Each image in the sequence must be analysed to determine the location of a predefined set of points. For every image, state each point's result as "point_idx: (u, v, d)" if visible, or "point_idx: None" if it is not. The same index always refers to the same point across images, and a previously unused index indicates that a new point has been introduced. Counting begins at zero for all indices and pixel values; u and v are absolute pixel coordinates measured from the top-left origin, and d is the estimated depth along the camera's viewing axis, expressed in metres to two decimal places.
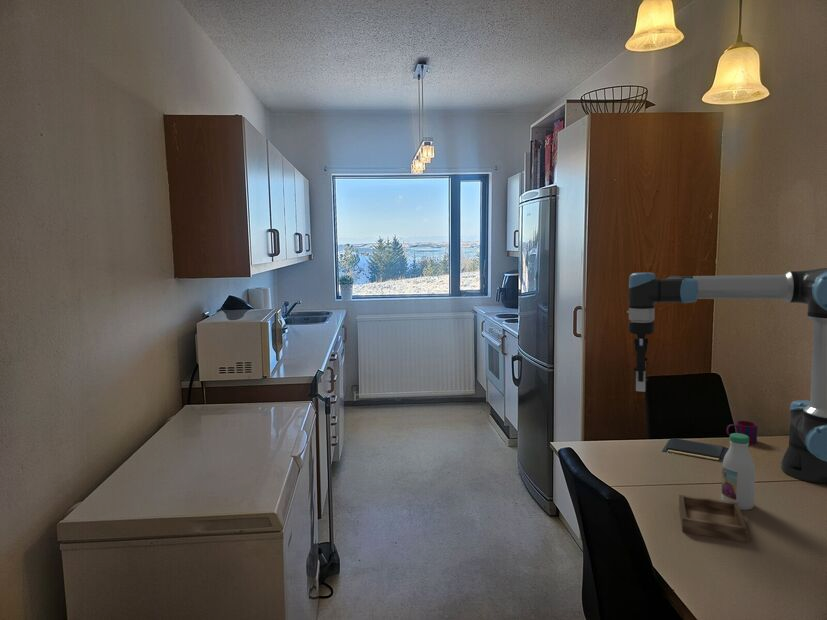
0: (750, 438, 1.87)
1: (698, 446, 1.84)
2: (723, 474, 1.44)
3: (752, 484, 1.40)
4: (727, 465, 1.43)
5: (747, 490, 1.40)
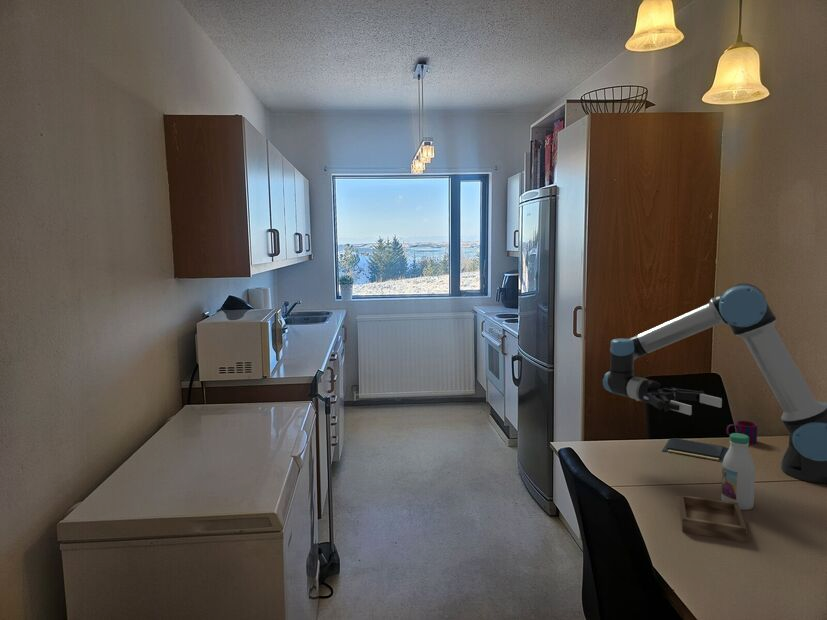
0: (750, 438, 1.87)
1: (698, 446, 1.84)
2: (723, 474, 1.44)
3: (752, 484, 1.40)
4: (727, 465, 1.43)
5: (747, 490, 1.40)
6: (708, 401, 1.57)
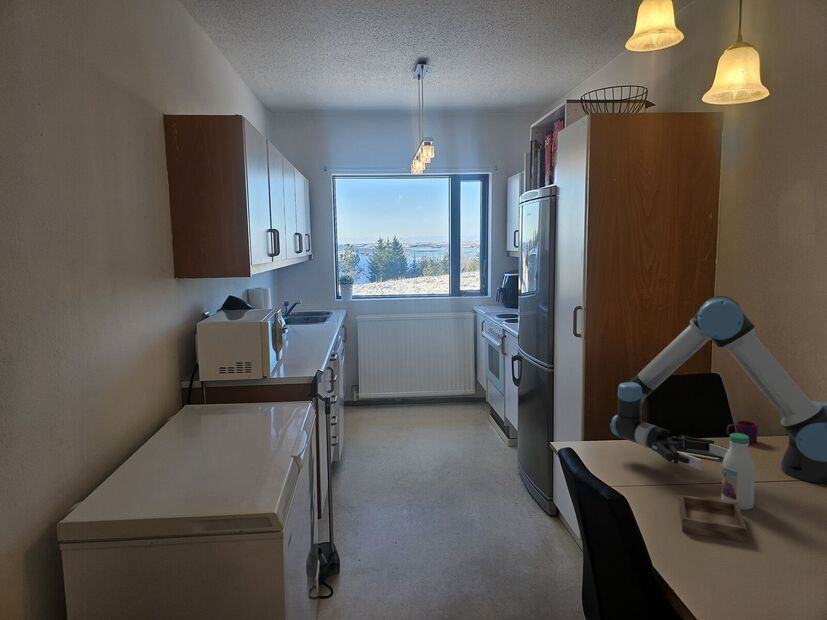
0: (750, 438, 1.87)
1: None
2: (723, 474, 1.44)
3: (752, 484, 1.40)
4: (727, 465, 1.43)
5: (747, 490, 1.40)
6: (718, 452, 1.55)
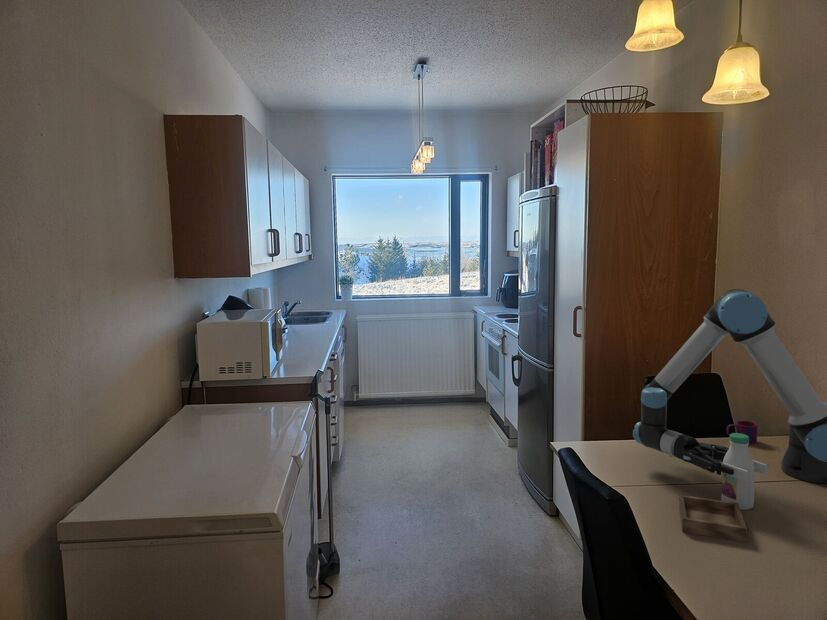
0: (750, 438, 1.87)
1: None
2: (723, 474, 1.44)
3: (752, 484, 1.40)
4: None
5: (747, 490, 1.40)
6: None
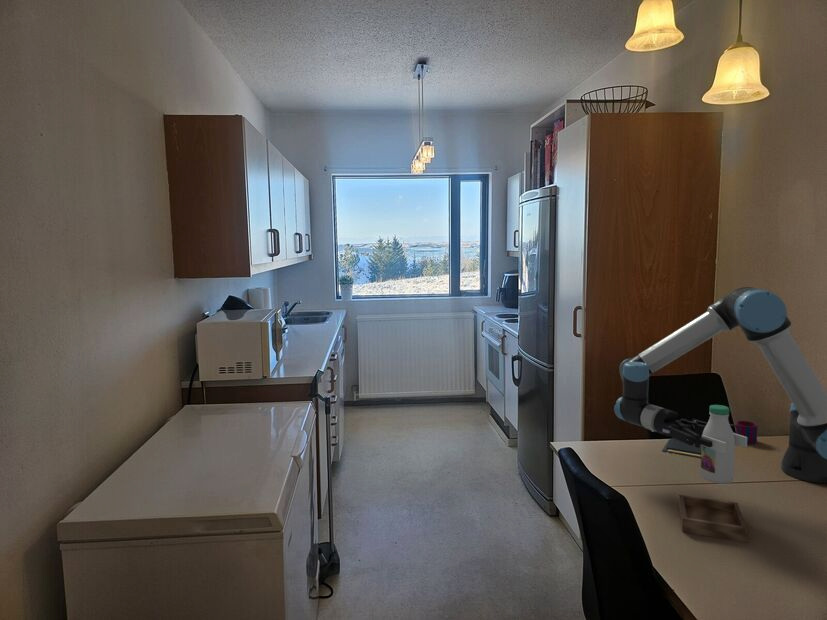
0: (750, 438, 1.87)
1: None
2: (702, 447, 1.39)
3: (732, 457, 1.35)
4: None
5: (726, 463, 1.35)
6: None
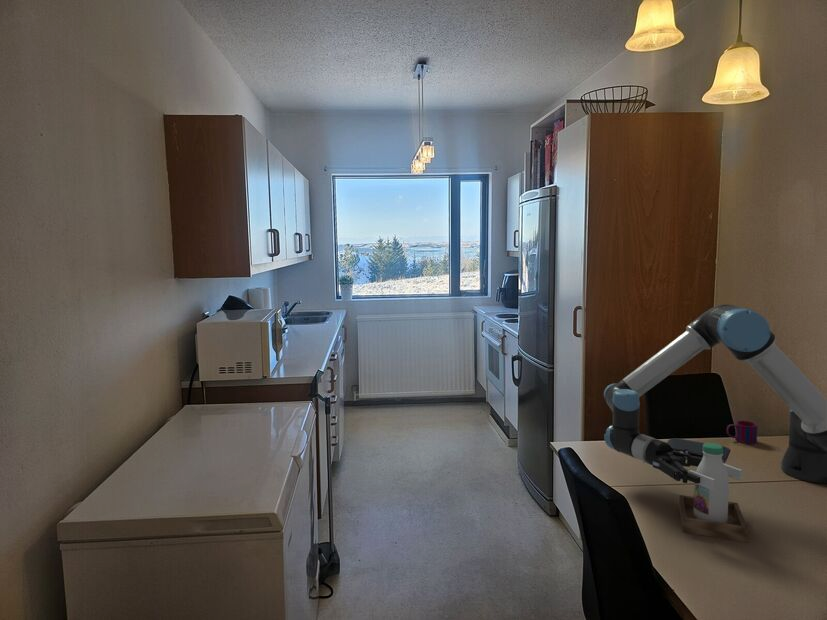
0: (750, 438, 1.87)
1: (698, 446, 1.84)
2: (695, 487, 1.35)
3: (725, 498, 1.31)
4: None
5: (720, 504, 1.31)
6: None
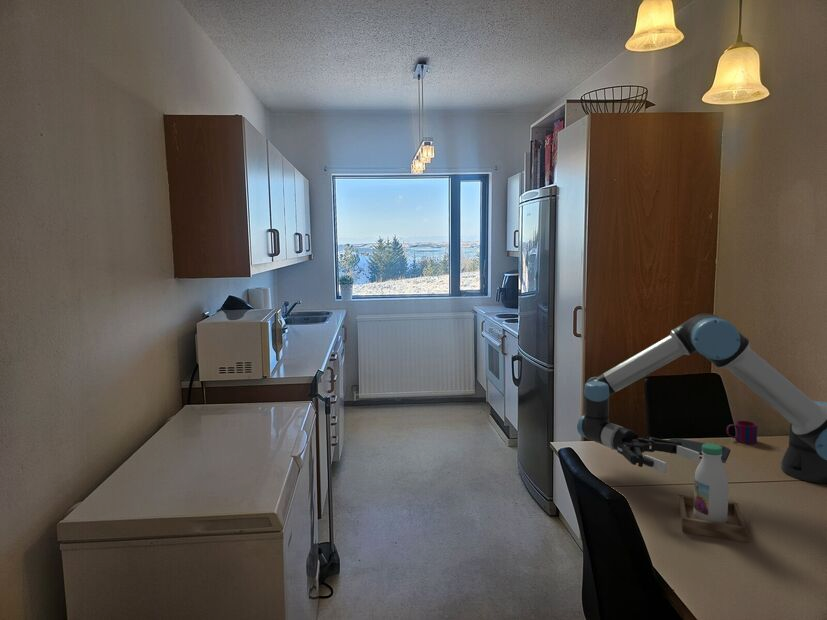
0: (750, 438, 1.87)
1: (698, 446, 1.84)
2: (695, 487, 1.35)
3: (725, 498, 1.31)
4: (698, 478, 1.33)
5: (720, 505, 1.30)
6: (685, 454, 1.47)
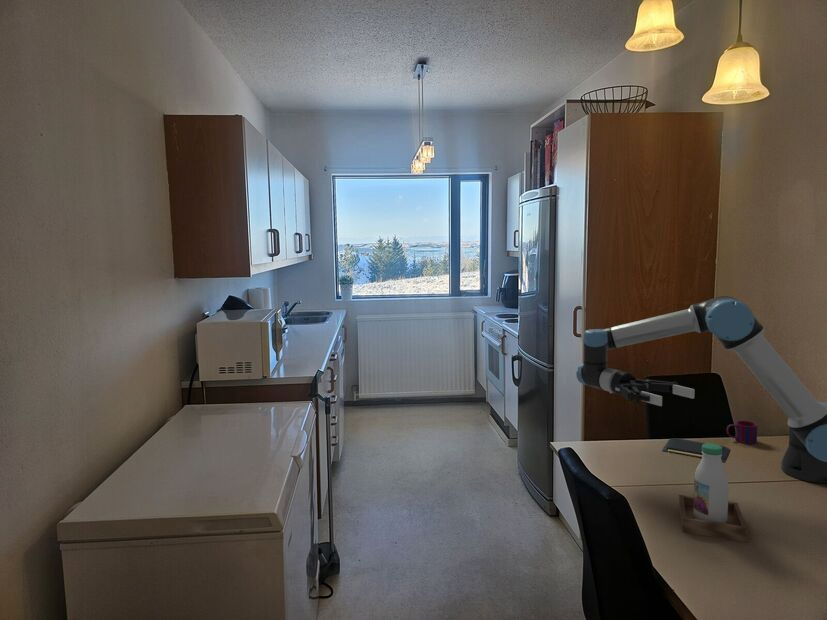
0: (750, 438, 1.87)
1: (698, 446, 1.84)
2: (695, 487, 1.35)
3: (725, 498, 1.31)
4: (698, 478, 1.33)
5: (720, 505, 1.30)
6: (681, 392, 1.52)
